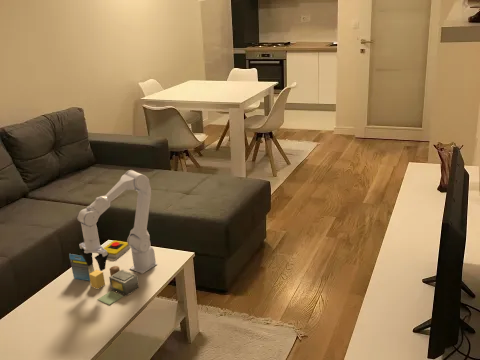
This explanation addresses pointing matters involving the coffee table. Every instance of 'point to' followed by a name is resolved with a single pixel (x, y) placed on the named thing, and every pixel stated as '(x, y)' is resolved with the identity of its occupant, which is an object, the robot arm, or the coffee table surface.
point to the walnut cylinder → (114, 270)
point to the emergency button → (116, 249)
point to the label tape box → (80, 267)
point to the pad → (110, 297)
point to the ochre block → (97, 279)
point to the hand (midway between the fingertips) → (96, 267)
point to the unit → (124, 282)
